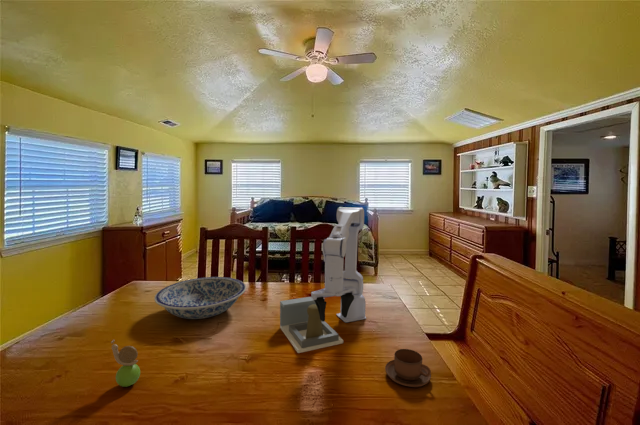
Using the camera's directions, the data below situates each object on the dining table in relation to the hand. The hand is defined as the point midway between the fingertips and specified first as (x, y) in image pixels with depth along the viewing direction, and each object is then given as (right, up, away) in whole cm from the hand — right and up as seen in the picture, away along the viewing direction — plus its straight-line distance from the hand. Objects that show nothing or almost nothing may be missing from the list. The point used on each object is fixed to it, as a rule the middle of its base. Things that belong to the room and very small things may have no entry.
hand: (333, 318), depth 98 cm
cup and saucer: (+20, -12, -13) cm, 26 cm away
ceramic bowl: (-52, -8, +28) cm, 60 cm away
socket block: (-7, -9, +10) cm, 16 cm away
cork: (-6, -9, +7) cm, 13 cm away
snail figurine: (-54, -11, -18) cm, 58 cm away
